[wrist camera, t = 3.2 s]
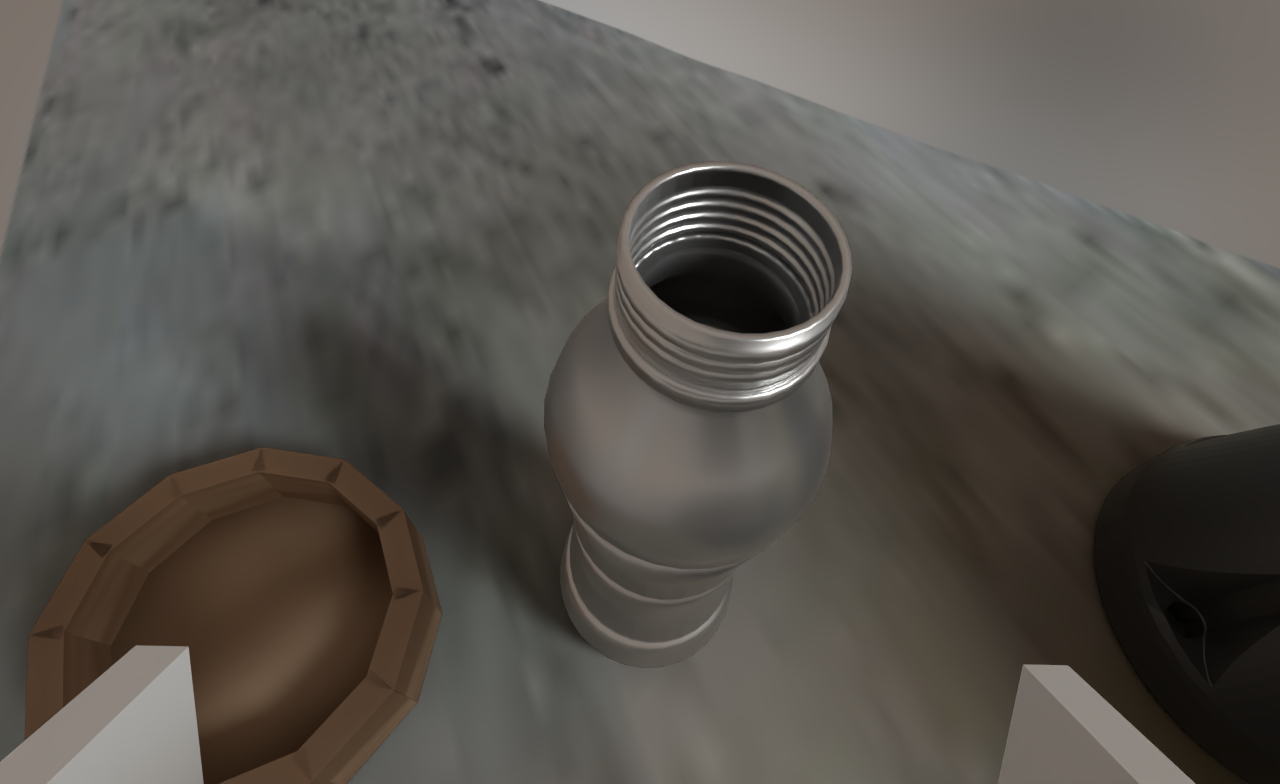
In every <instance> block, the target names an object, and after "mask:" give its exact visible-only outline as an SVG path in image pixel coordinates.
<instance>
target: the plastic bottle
mask: <svg viewBox="0 0 1280 784" xmlns="http://www.w3.org/2000/svg"><path fill="white" fill-rule="evenodd" d="M851 274H852V257H851V251H850V248H849V244H848V241H847V237H846V235H845V233H844V231H843V230H842V228H841V226H840V224H839V222H838V220H837V219H836V218H835V217H834V215H833V214H832V213H831V212H830V210H829V209H828V208H827V207H826V206H825V204H823V203H822V202H821V201H820V200H819V199H818V198H817V197H815V196H814V195H813V194H812V193H811V192H810V191H808V190H807V189H805V188H804V187H802V186H800V185H799V184H797V183H796V182H794V181H793V180H791V179H788V178H786V177H784V176H782V175H780V174H778V173H775V172H773V171H770V170H767V169H763V168H760V167H757V166H754V165H748V164H742V163H736V162H716V161H711V162H702V163H694V164H689V165H686V166H682V167H678V168H675V169H672V170H670V171H668V172H666V173H664V174H662V175H660V176H657V177H656V178H654V179H653V180H652V181H650V182H649V183H648V184H646V185H645V186H644V187H642V189H641V190H640V191H639V192H638V193H637V194H636V196H635V197H634V198H633V199H632V200H631V202H630V204H629V206H628V208H627V210H626V212H625V214H624V216H623V221H622V223H621V226H620V231H619V235H618V240H617V255H616V265H615V267H614V269H613V271H612V275H611V280H610V284H609V289H608V298H607V299H606V300H604V301H602V302H601V303H600V304H599V305H598V306H596V307H595V308H594V309H593V310H592V311H590V312H589V313H588V314H587V315H586V316H584V318H583V319H582V320H581V321H580V323H579V324H578V325H577V326H576V328H575V329H574V330H573V331H572V333H571V334H570V336H569V338H568V340H567V342H566V344H565V346H564V348H563V350H562V352H561V354H560V356H559V358H558V360H557V362H556V365H555V367H554V369H553V371H552V373H551V376H550V380H549V384H548V388H547V392H546V396H545V400H544V429H545V434H546V439H547V444H548V450H549V454H550V457H551V461H552V466H553V470H554V472H555V474H556V477H557V479H558V481H559V484H560V486H561V489H562V491H563V493H564V495H565V497H566V499H567V501H568V504H569V506H570V508H571V510H572V514H573V519H574V522H573V524H572V527H571V529H570V532H569V534H568V537H567V539H566V542H565V546H564V549H563V554H562V559H561V564H560V586H561V592H562V597H563V602H564V605H565V607H566V610H567V612H568V615H569V617H570V619H571V621H572V622H573V624H574V626H575V627H576V629H577V630H578V632H579V633H580V635H581V636H582V637H583V638H584V639H585V640H586V641H587V642H588V643H589V644H590V645H591V646H592V647H593V648H594V649H596V650H597V651H599V652H600V653H602V654H603V655H605V656H606V657H607V658H609V659H612V660H614V661H616V662H619V663H621V664H624V665H628V666H634V667H639V668H656V667H664V666H667V665H671V664H675V663H678V662H680V661H682V660H684V659H686V658H688V657H690V656H692V655H694V654H695V653H696V652H697V651H698V650H699V649H701V648H702V647H703V646H704V645H705V644H707V643H708V641H709V640H710V639H711V637H712V636H713V635H714V634H715V632H716V631H717V630H718V628H719V626H720V624H721V622H722V620H723V618H724V616H725V613H726V610H727V606H728V602H729V598H730V594H731V590H732V584H733V573H734V571H735V570H736V569H737V568H738V567H739V566H740V565H741V564H743V563H744V562H746V561H747V560H749V559H750V558H752V557H754V556H755V555H757V554H758V553H760V552H761V551H763V550H765V549H766V548H767V547H769V546H770V545H771V544H772V543H774V542H775V541H776V540H777V539H779V538H780V537H781V536H782V535H784V534H785V533H786V532H787V531H788V530H789V529H790V528H791V527H792V526H793V525H794V524H795V523H796V522H797V521H798V520H799V519H800V518H801V516H802V515H803V514H804V512H805V511H806V510H807V509H808V507H809V506H810V505H811V503H812V502H813V501H814V500H815V498H816V495H817V493H818V491H819V489H820V487H821V485H822V482H823V480H824V478H825V476H826V472H827V467H828V462H829V457H830V452H831V443H832V431H833V413H832V399H831V395H830V391H829V387H828V382H827V378H826V376H825V374H824V372H823V370H822V367H821V365H820V363H819V360H820V358H821V356H822V354H823V352H824V350H825V348H826V346H827V344H828V340H829V335H830V331H831V325H832V323H833V322H834V320H835V318H836V316H837V315H838V313H839V311H840V309H841V307H842V305H843V303H844V301H845V299H846V296H847V291H848V288H849V284H850V279H851Z"/></svg>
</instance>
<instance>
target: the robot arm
mask: <svg viewBox="0 0 1280 784" xmlns="http://www.w3.org/2000/svg"><path fill="white" fill-rule="evenodd" d="M1095 565H1096V572H1097V578H1098V583H1099V588H1100V592H1101V595H1102V599H1103V602H1104V605H1105V608H1106V611H1107V614H1108V617H1109V619H1110V622H1111V624H1112V626H1113V629H1114V631H1115V633H1116V635H1117V637H1118V639H1119V641H1120V643H1121V645H1122V647H1123V649H1124V651H1125V652H1126V654H1127V656H1128V658H1129V660H1130V661H1131V663H1132V664H1133V666H1134V668H1135V669H1136V671H1137V672H1138V674H1139V675H1140V677H1141V678H1142V680H1143V681H1144V682H1145V684H1146V685H1147V687H1148V688H1149V689H1150V691H1151V692H1152V693H1153V695H1154V696H1155V697H1156V698H1157V700H1158V701H1159V702H1160V703H1161V705H1162V706H1163V707H1164V708H1165V709H1166V710H1167V712H1168V713H1169V714H1170V715H1171V716H1172V717H1173V718H1174V719H1175V720H1176V721H1177V723H1178V724H1179V725H1180V726H1181V727H1182V728H1183V729H1184V730H1185V731H1186V732H1187V733H1188V734H1189V735H1190V736H1191V737H1192V738H1193V739H1194V740H1195V741H1197V742H1198V743H1199V744H1200V745H1201V746H1202V747H1203V748H1205V749H1206V750H1207V751H1208V752H1209V753H1210V754H1211V755H1213V756H1214V757H1215V758H1216V759H1218V760H1219V761H1220V762H1221V763H1223V764H1224V765H1225V766H1227V767H1228V768H1229V769H1231V770H1232V771H1234V772H1235V773H1236V774H1238V775H1239V776H1241V777H1242V778H1244V779H1245V780H1247V781H1248V782H1250V783H1252V784H1280V424H1279V425H1273V426H1268V427H1263V428H1258V429H1254V430H1249V431H1244V432H1240V433H1235V434H1230V435H1220V436H1210V437H1204V438H1199V439H1195V440H1192V441H1188V442H1186V443H1183V444H1180V445H1178V446H1175V447H1173V448H1171V449H1169V450H1167V451H1165V452H1163V453H1162V454H1160V455H1158V456H1156V457H1155V458H1153V459H1151V460H1149V461H1148V462H1146V463H1144V464H1143V465H1141V466H1139V467H1137V468H1136V469H1134V470H1133V471H1131V472H1130V473H1128V474H1127V475H1126V476H1125V477H1124V478H1122V479H1121V480H1120V481H1119V482H1118V484H1117V485H1116V486H1115V487H1114V488H1113V490H1112V491H1111V492H1110V494H1109V496H1108V497H1107V499H1106V501H1105V503H1104V505H1103V507H1102V510H1101V513H1100V516H1099V519H1098V524H1097V528H1096V536H1095ZM0 784H204V782H203V773H202V764H201V755H200V746H199V737H198V728H197V719H196V710H195V701H194V692H193V683H192V674H191V665H190V656H189V647H186V646H139V645H136V646H135V647H134V648H132V649H131V650H130V651H129V652H128V653H127V654H125V655H124V656H123V657H122V658H121V659H120V660H118V661H117V662H116V663H115V664H114V665H113V666H111V667H110V668H109V669H108V670H107V671H106V672H104V673H103V674H102V675H101V676H100V677H99V678H97V679H96V680H95V681H94V682H93V683H92V684H90V685H89V686H88V687H87V688H86V689H84V690H83V691H82V692H81V693H80V694H79V695H77V696H76V697H75V698H74V699H73V700H72V701H70V702H69V703H68V704H67V705H66V706H65V707H63V708H62V709H61V710H60V711H59V712H58V713H56V714H55V715H54V716H53V717H52V718H51V719H49V720H48V721H47V722H46V723H45V724H44V725H42V726H41V727H40V728H39V729H38V730H37V731H35V732H34V733H33V734H32V735H31V736H30V737H28V738H27V739H26V740H25V741H24V742H23V743H21V744H20V745H19V746H18V747H17V748H16V749H14V750H13V751H12V752H11V753H10V754H9V755H7V756H6V757H5V758H4V759H3V760H2V761H0ZM998 784H1195V783H1194V782H1193V781H1192V780H1191V779H1190V778H1189V777H1188V776H1187V775H1186V774H1185V773H1183V772H1182V771H1181V770H1180V769H1179V768H1178V767H1177V766H1176V765H1175V764H1174V763H1173V762H1172V761H1171V760H1169V759H1168V758H1167V757H1166V756H1165V755H1164V754H1163V753H1162V752H1161V751H1160V750H1159V749H1158V748H1157V747H1155V746H1154V745H1153V744H1152V743H1151V742H1150V741H1149V740H1148V739H1147V738H1146V737H1145V736H1144V735H1143V734H1141V733H1140V732H1139V731H1138V730H1137V729H1136V728H1135V727H1134V726H1133V725H1132V724H1131V723H1130V722H1129V721H1127V720H1126V719H1125V718H1124V717H1123V716H1122V715H1121V714H1120V713H1119V712H1118V711H1117V710H1116V709H1115V708H1113V707H1112V706H1111V705H1110V704H1109V703H1108V702H1107V701H1106V700H1105V699H1104V698H1103V697H1102V696H1101V695H1099V694H1098V693H1097V692H1096V691H1095V690H1094V689H1093V688H1092V687H1091V686H1090V685H1089V684H1088V683H1086V682H1085V681H1084V680H1083V679H1082V678H1081V677H1080V676H1079V675H1078V674H1077V673H1076V672H1075V671H1074V670H1072V669H1071V668H1070V667H1069V666H1068V665H1027V664H1023V667H1022V671H1021V676H1020V681H1019V685H1018V690H1017V695H1016V700H1015V704H1014V709H1013V714H1012V718H1011V723H1010V728H1009V733H1008V737H1007V742H1006V747H1005V752H1004V756H1003V761H1002V766H1001V770H1000V775H999V780H998Z"/></svg>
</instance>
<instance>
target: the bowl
mask: <svg viewBox="0 0 1280 784" xmlns="http://www.w3.org/2000/svg"><path fill="white" fill-rule="evenodd" d="M441 616H442V610H441V607H440V603H439V599H438V595H437V591H436V587H435V584H434V580H433V576H432V572H431V568H430V564H429V560H428V557H427V553H426V549H425V545H424V541H423V539H422V537H421V536H420V534H419V533H418V531H417V530H416V528H415V527H414V525H413V523H412V522H411V520H410V519H409V517H408V516H407V514H406V513H405V511H404V510H403V508H401V507H400V506H399V505H398V504H397V503H395V502H394V501H393V500H392V499H391V498H390V497H388V496H387V495H386V494H385V493H384V492H383V491H381V490H380V489H379V488H378V487H377V486H376V485H374V484H373V483H372V482H371V481H370V480H368V479H367V478H366V477H365V476H364V475H363V474H361V473H360V472H359V471H358V470H357V469H356V468H354V467H353V466H352V465H351V464H350V463H349V462H347V461H346V460H345V459H339V458H333V457H326V456H319V455H312V454H305V453H299V452H292V451H285V450H278V449H271V448H264V447H261V448H258V449H254V450H251V451H248V452H244V453H241V454H238V455H234V456H231V457H228V458H224V459H221V460H217V461H214V462H211V463H207V464H204V465H201V466H197V467H194V468H191V469H187V470H184V471H181V472H177V473H174V474H171V475H169V476H168V477H166V478H165V479H164V480H162V481H161V482H160V483H159V484H157V485H156V486H155V487H153V488H152V489H151V490H149V491H148V492H147V493H146V494H144V495H143V496H142V497H140V498H139V499H138V500H137V501H135V502H134V503H133V504H131V505H130V506H129V507H127V508H126V509H125V510H124V511H122V512H121V513H120V514H118V515H117V516H116V517H115V518H113V519H112V520H111V521H109V522H108V523H107V524H105V525H104V526H103V527H102V528H100V529H99V530H98V531H96V532H95V533H94V534H93V535H91V536H90V537H89V538H87V539H86V540H85V541H84V543H83V544H82V546H81V548H80V550H79V551H78V553H77V555H76V556H75V558H74V560H73V561H72V563H71V565H70V566H69V568H68V570H67V572H66V573H65V575H64V577H63V578H62V580H61V582H60V583H59V585H58V587H57V589H56V590H55V592H54V594H53V595H52V597H51V599H50V600H49V602H48V604H47V605H46V607H45V609H44V611H43V612H42V614H41V616H40V617H39V619H38V621H37V622H36V624H35V626H34V628H33V629H32V631H31V633H30V634H29V639H28V665H27V691H26V717H25V740H26V739H27V738H28V737H30V736H31V735H32V734H33V733H34V732H35V731H37V730H38V729H39V728H40V727H41V726H42V725H44V724H45V723H46V722H47V721H48V720H49V719H51V718H52V717H53V716H54V715H55V714H56V713H58V712H59V711H60V710H61V709H62V708H63V707H65V706H66V705H67V704H68V703H69V702H70V701H72V700H73V699H74V698H75V697H76V696H77V695H79V694H80V693H81V692H82V691H83V690H84V689H86V688H87V687H88V686H89V685H90V684H92V683H93V682H94V681H95V680H96V679H97V678H99V677H100V676H101V675H102V674H103V673H104V672H106V671H107V670H108V669H109V668H110V667H111V666H113V665H114V664H115V663H116V662H117V661H118V660H120V659H121V658H122V657H123V656H124V655H125V654H127V653H128V652H129V651H130V650H131V649H132V648H134V647H135V646H136V645H139V646H186V647H189V656H190V665H191V674H192V683H193V692H194V701H195V710H196V719H197V728H198V737H199V746H200V755H201V764H202V773H203V782H204V784H346V783H348V782H349V781H350V780H351V778H352V777H353V776H354V775H355V774H356V773H357V772H358V770H359V769H360V768H361V767H362V766H363V765H364V763H365V762H366V761H367V760H368V759H369V758H370V757H371V755H372V754H373V753H374V752H375V751H376V750H377V748H378V747H379V746H380V745H381V744H382V743H383V742H384V740H385V739H386V738H387V737H388V736H389V735H390V733H391V732H392V731H393V730H394V729H395V728H396V727H397V725H398V724H399V723H400V722H401V721H402V720H403V719H404V717H405V716H406V715H407V714H408V713H409V712H410V710H411V709H412V708H413V707H414V706H415V705H416V704H417V702H418V699H419V695H420V692H421V688H422V685H423V681H424V677H425V674H426V670H427V667H428V663H429V659H430V656H431V652H432V649H433V645H434V641H435V638H436V634H437V631H438V627H439V623H440V620H441Z"/></svg>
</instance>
